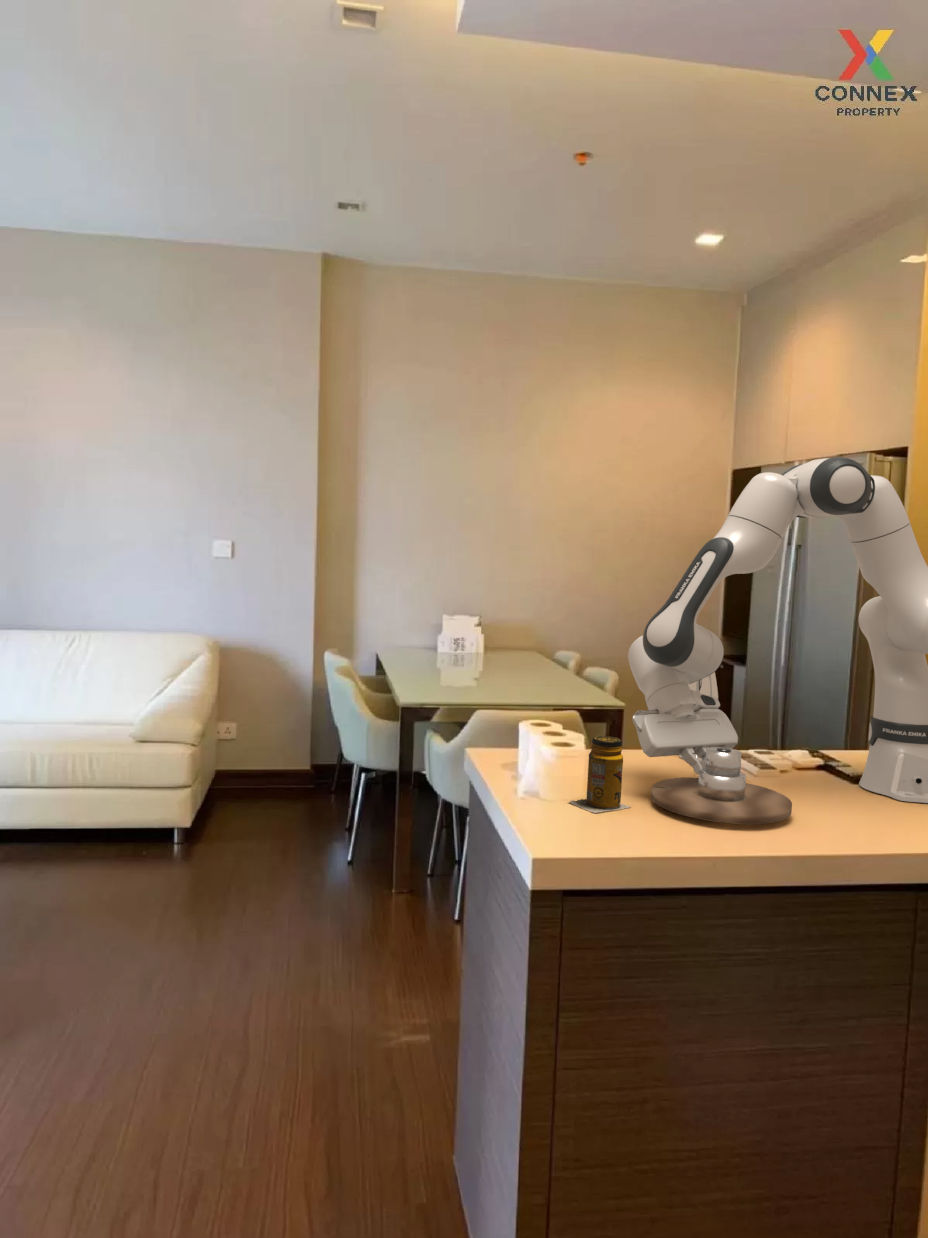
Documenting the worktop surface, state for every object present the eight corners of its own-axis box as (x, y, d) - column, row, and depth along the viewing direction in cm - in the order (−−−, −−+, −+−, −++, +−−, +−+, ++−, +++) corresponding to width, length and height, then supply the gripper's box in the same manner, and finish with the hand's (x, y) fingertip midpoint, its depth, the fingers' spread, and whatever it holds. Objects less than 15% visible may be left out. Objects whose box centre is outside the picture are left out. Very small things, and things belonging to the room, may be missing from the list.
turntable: (791, 795, 164) (792, 787, 164) (791, 832, 141) (792, 823, 141) (660, 779, 172) (661, 771, 172) (641, 811, 150) (641, 802, 150)
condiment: (630, 808, 156) (634, 741, 155) (594, 814, 151) (598, 745, 150) (602, 797, 162) (606, 733, 161) (567, 803, 157) (570, 736, 156)
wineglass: (671, 754, 200) (676, 667, 198) (701, 753, 202) (707, 667, 200) (690, 762, 192) (696, 672, 191) (721, 761, 194) (727, 671, 193)
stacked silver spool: (745, 792, 159) (748, 747, 158) (743, 804, 151) (746, 756, 151) (699, 787, 161) (702, 742, 161) (695, 798, 154) (698, 751, 153)
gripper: (636, 701, 162) (666, 766, 154) (724, 698, 171) (757, 759, 162) (621, 720, 166) (649, 784, 158) (707, 716, 175) (738, 777, 167)
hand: (704, 772), depth 160 cm, fingers closed
